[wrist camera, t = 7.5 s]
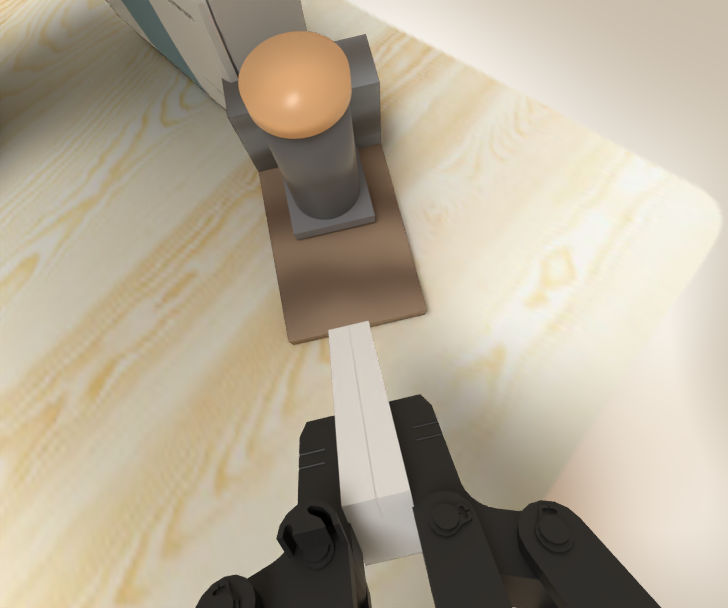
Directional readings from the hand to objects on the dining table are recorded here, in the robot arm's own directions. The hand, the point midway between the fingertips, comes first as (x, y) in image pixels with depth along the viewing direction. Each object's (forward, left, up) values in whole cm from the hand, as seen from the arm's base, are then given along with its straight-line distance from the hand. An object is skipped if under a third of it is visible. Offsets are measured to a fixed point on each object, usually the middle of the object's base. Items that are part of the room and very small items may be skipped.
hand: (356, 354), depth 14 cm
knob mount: (-12, +4, -13) cm, 18 cm away
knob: (-13, +5, -11) cm, 18 cm away
